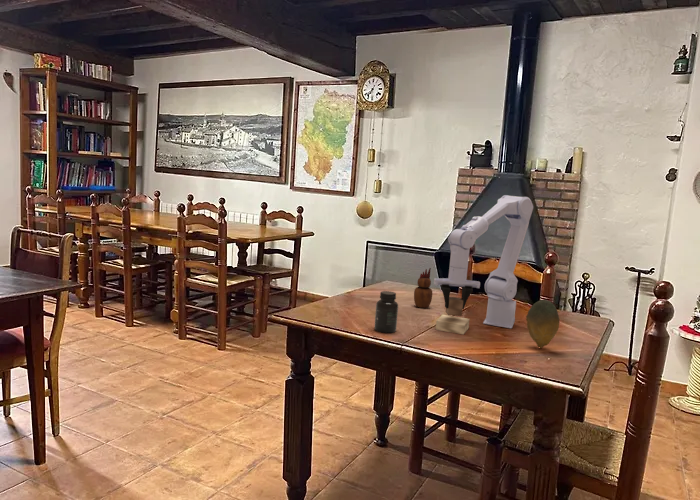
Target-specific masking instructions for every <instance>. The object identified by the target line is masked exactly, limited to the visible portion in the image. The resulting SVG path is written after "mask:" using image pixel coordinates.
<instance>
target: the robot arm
mask: <svg viewBox="0 0 700 500" xmlns="http://www.w3.org/2000/svg"><path fill="white" fill-rule="evenodd" d="M496 202H497V203H496V204H495V205H494V206H492V207H491V208H490V209H489V210H488V211H486V213H484V214H483V215H482V216H479V215H478V216H473V217H472V218H471V220H470V221H468V222H467V223H466V224H463V225H462V226H461V227H460V228H456V229H455V228H454V229H453V230H452V231H451V233H450V234H449V236H448V238H447V241H448V243H449V245H450V246H449V249H450V250H449V251H450V259H449V267H448V268H449V269H448V277H446V278H444V277H442V278H441V277H440V278H438V277H437V278H436V277H434V279H433V285H434V286H440V288H441V291H442V295H443V298H444V299H443V301H444V307H445V309H446V308H448V306H449V297H451V296H450V295H451V287H461V297H460V298H461V299H462V300H463V309H462V310H465V306H466V304H467V301H468V299H469V298H470V295H471V294H473V291H474V290H473V288H476V289H481V288H480V287H481V282H480V281H479V280H478V281H477V280H470V279H468V278H467V277H468V268H469V258H470V251H471V250H470V248H473V246H474V245H475V243H476V240H477V239H478V238H479V237H481V236H482V235H483V234H484V233H486V232H487V231H488V229H489V225H491V224H492V223H494V222H495V221H497V220H498V219H500V218H502V217H503V216H504V217H505V219H506V220H507V221H508V222H509V224H510V227H509V231H508V234H507V236H506V237H507V238H506V240H505V244H504V246H503V250H502V253H501V256H500V259H499V263H498V264H497V265H498V266H497V267H496V269H494V270H493V271H492V270H491V272H490V273H489V275H488V278H487V279H486V280H485V283H484V291H485V293H486V296H487V297H488V299H487V308H486V316H485V319H484V320H483V322H482V324H483V325H487V326H495V327H502V328H507V329H513V326H514V324H515V322H516V317H515V316H516V308H517V301H516V300H513V299H514V298H515V296H516V294H517V289H518V282H519V280H518V278H517V277H516V275H515V273H514V272H515V268H516V265H517V262H518V260H519V256H520V253H521V250H522V247H523V244H524V240H525V237H526V235H527V231H528V227H529V223H530V220H531V217H532V213H533V210H534V204H533V201H532V200H531V199H530V197H528V196H515V195H508V194H504V195H502V196H501V197H500V198H498V199H497V201H496Z"/></svg>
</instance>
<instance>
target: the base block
mask: <svg viewBox="0 0 700 500" xmlns="http://www.w3.org/2000/svg"><path fill="white" fill-rule="evenodd" d="M469 328H470V318H465V317H462V316H460V317H459V316H454V315H448V314H441V316H439V317H438V318H437V319H436V321H435V330H437V331H440V332H441V331H442V332H448V333H453V334H456V335H457V334H459V335H465V334H466V332H467V331H468V330H469Z"/></svg>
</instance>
